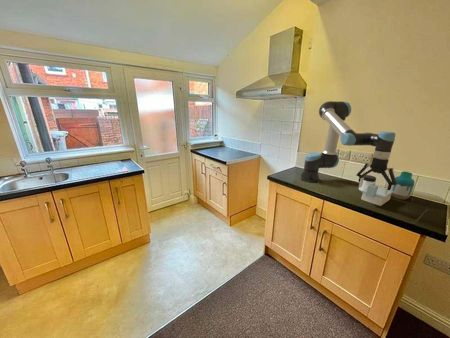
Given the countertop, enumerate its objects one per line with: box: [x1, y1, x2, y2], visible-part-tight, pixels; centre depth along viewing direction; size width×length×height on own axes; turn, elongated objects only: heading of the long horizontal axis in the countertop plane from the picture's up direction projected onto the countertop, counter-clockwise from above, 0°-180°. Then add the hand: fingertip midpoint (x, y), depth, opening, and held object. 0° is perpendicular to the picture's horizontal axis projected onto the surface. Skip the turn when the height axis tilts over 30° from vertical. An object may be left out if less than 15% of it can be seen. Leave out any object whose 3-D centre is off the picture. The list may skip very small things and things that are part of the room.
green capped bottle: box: [390, 171, 415, 201], centre depth 130 cm, size 11×11×19 cm
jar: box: [358, 174, 377, 192], centre depth 141 cm, size 9×8×12 cm
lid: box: [360, 184, 394, 199], centre depth 125 cm, size 12×22×8 cm, turn 124°
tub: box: [360, 192, 392, 207], centre depth 128 cm, size 11×16×6 cm
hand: (372, 190), depth 119 cm, fingers open, 13 cm apart
